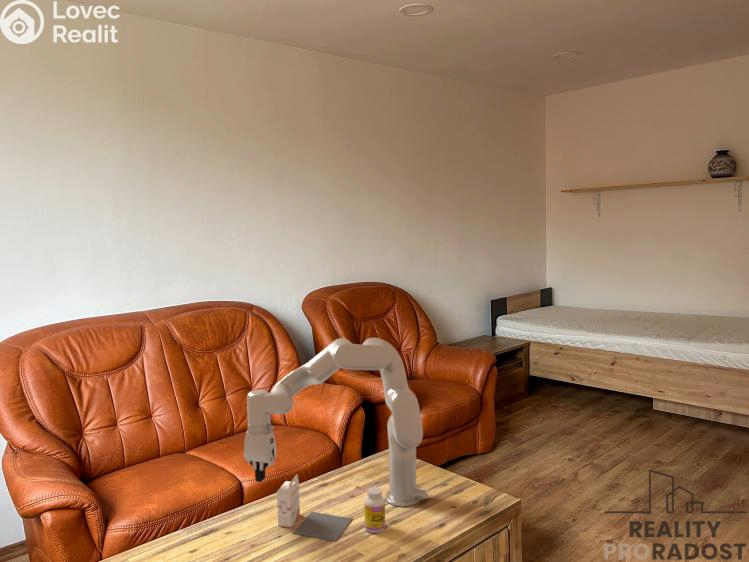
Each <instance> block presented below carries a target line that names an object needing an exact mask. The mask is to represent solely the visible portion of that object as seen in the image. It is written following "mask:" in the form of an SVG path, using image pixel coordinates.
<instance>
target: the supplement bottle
mask: <svg viewBox="0 0 749 562" xmlns="http://www.w3.org/2000/svg"><path fill="white" fill-rule="evenodd" d="M366 491H367V492H366V494H367V496H366V497H365V499H364V501H363V502H364V507H363V508H364V510H363V511H364V530H366V531H367V532H368V533H371V534H378V533H381V532H384V530H385V528H386V499H385V498H384V496H383V490H382V489H381V488H380V487H378V486H377V487H376V486H375V487H370V488H368V489H367V490H366Z"/></svg>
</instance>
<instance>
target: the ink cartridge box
mask: <svg viewBox="0 0 749 562" xmlns="http://www.w3.org/2000/svg"><path fill="white" fill-rule="evenodd" d="M276 502H277V504H276V505H277V507H276V508H277V525H278V527H284V528H285V527H286V528H287V527H288V528H292V527H293V526H294V524H295V522H297V519H298V518H299V517H300V514H301V510H300V509H301V508H300V505H301V504H300V482H299V475H298V474H296V475H295V476H294V477H293V478H292V480H291V481H288V480H287V481H286V480H285V481H284V483H282V485H281V486H280V488H279V489H278V490H277V491H276Z"/></svg>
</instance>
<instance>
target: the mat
mask: <svg viewBox="0 0 749 562" xmlns="http://www.w3.org/2000/svg"><path fill="white" fill-rule="evenodd" d="M351 520H353V518H352V517H345V516H340V515H334V514H327V513H322V512H316V511H311V512H310V513H309V514H308V515H307V516H306V517H305V518H304V519H303V521H302V522H301V523H300V524H299V525H298V526H297V528H295V530H293V532H292V534H293V535H297V534H298V536H305V537H308V538H309V537H310V538H313V539H319V540H325V541H331V542H334V543H335V542H337V541H338V540H339V538H340V537H341V536H340V535H342V534H343V533H344V532H345V530H346V529H347V528H348V526H349V525H350V523H351V522H352V521H351Z"/></svg>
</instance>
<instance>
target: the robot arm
mask: <svg viewBox="0 0 749 562" xmlns="http://www.w3.org/2000/svg"><path fill="white" fill-rule="evenodd" d="M339 369H344V370H358V371H362V370H363V371H379V373H380V377H381V380H382V387H383V395H384V401H385V404H386V406H387V407H388V409H389V410H390V412H391V415H390V416H389V418H388V420H387V424H386V425H387V427H386V428H387V429H386V430H387V437H388V439H387V440H388V449H389V450H388V453H389V455H388V458H389V460H388V461H389V464H388V465H389V467H388V468H389V469H388V471H389V472H388V473H389V475H388V476H389V478H388V479H389V490H388V491H387V492H386V493H385V498H384V499H385V502H387V503H389V504H390V505H392V506H396V507H410V506H415V505H416V504H418V503H419V502H420V501H421V499H425V500H428V497H429V494H428V492H427V490H426V489H420V488H419V484H417V447H419V445H420V444H421V443H422V440H423V437H424V429H423V423H422V416H421V410H420V404H419V402H418V399H417V398H418V397H416V395H415V393H413V391H412V390H411V389H410V387H409V384H408V379H407V374H406V369H405V366H404V363H403V360H402V357H401V355H400V353H399V352H398V351H397V350H396V347H394V346H393V345H392V344H391V343H389V342H388V341H386V340H385V339H382V338H379V337H368V338H367V339H366V340H364V341H363V343H362V344H361V343H360V344H356V343H352V342H351V341H350V340H349V339H347V338H343V337H340V338H336V339H335V340H333V341H331V342H330V343H329V344H328V345H327V346H326V347H325V348H324V349H322V350H321V351H319V353H317V354H316V355H315V356H314V357H313V358H311V359H310V360H308V362H306V363H305V364H303V365H300V367H298V368H296V369H294V370H292V371H291V372H289V373H288V374H287V375H285V376H284V377H283V378H282V379H281V380H280V381H278V382H277V383H276V384H275V385H274V386H273V387H272V388H271V390H270V392H269V391H268V390H265V389H254V390H250V391H249V392H248V393H247V395H246V410H247V411H246V413H247V418H246V419H247V430H246V432H245V437H244V442H243V443H244V447H243V456H244V460H245V462H246V463H248V464H250V465H251V466H252V469H253V470H254V477H255V482H258V483H261V482H263V481H264V480H265V479H266V468H268V467H272V466H274V465H275V464H276V462H275V459H276V458H277V446H276V445H277V444H276V438H275V434H274V431H273V430H274V429H275V426H274V425H272V422H271V414H273V415H286V414H288V413H290V412H291V411H292V410H293V408H294V405H295V403H294V402H295V401H294V397H296V396H297V394H299V393H300V392H301V391H303V390H304V389H306V388H307V387H309V386H313V385H314V386H315V385H319V384H322V383H324V382H325V381H327V380H328V379H329V378H330V377H331V376H332V375H334V374H335V373H336V372H337V371H338V370H339Z"/></svg>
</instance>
